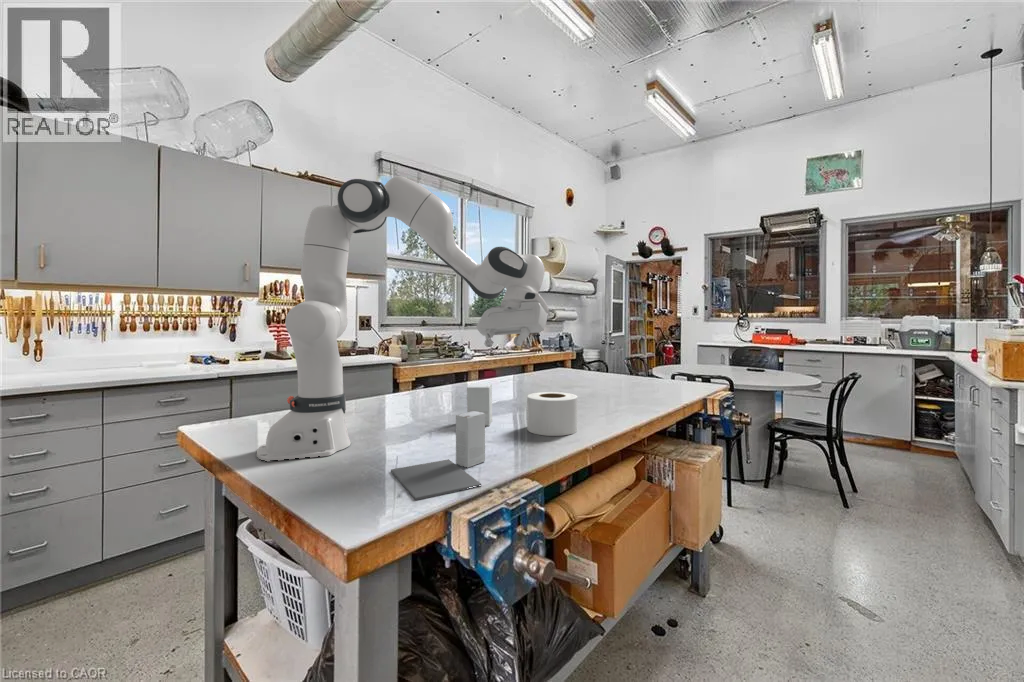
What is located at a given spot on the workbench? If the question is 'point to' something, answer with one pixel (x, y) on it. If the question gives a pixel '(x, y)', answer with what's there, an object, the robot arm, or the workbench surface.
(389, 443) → the workbench surface
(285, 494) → the workbench surface
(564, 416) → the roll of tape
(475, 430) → the skincare box
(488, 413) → the supplement box
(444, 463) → the rubber mat
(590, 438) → the workbench surface
